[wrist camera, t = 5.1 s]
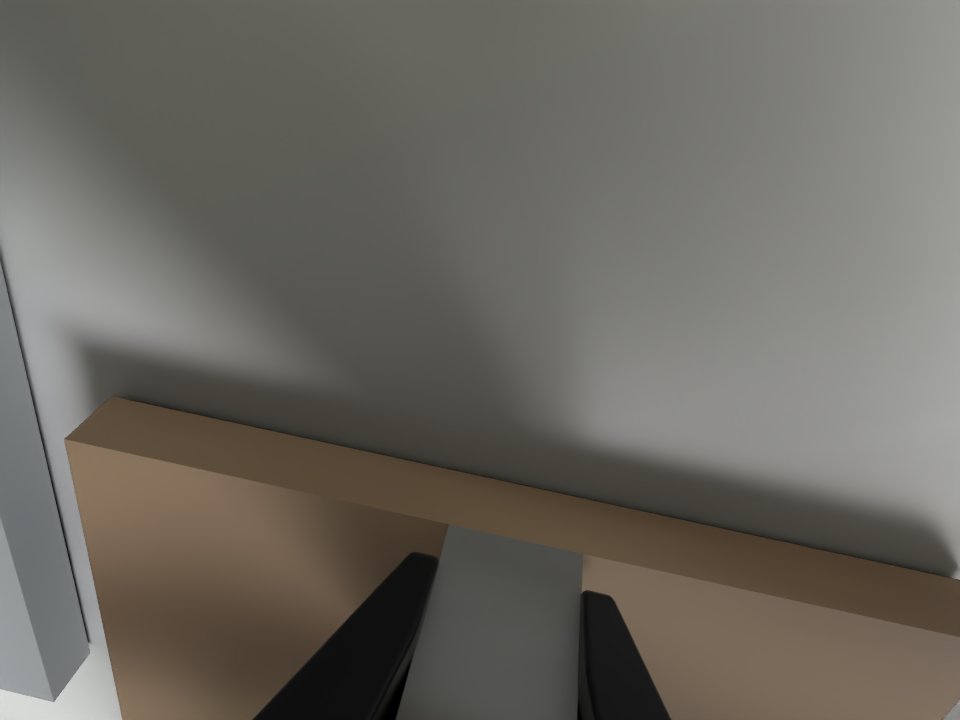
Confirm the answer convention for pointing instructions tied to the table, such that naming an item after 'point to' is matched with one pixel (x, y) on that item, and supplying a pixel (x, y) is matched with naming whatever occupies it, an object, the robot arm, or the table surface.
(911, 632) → the brown wooden frame
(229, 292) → the table surface
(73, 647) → the grey strip
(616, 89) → the table surface
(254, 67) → the table surface
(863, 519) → the table surface
